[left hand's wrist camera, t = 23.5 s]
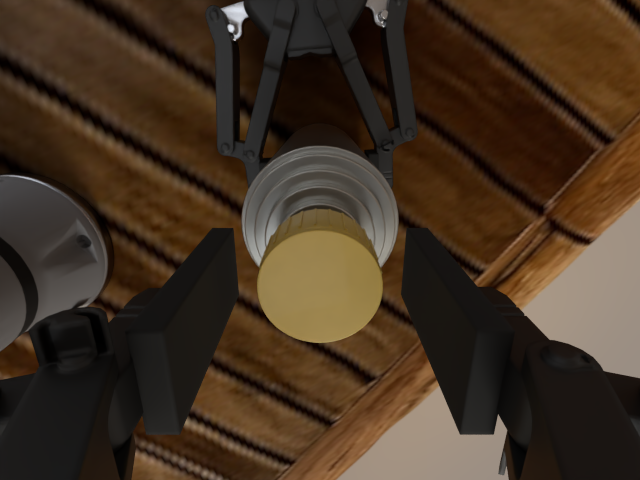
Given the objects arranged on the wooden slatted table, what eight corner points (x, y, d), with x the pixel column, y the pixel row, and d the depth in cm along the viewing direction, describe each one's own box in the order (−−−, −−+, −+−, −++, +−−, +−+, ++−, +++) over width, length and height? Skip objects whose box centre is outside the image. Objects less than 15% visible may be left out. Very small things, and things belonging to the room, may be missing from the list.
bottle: (302, 215, 38) (273, 398, 14) (266, 145, 35) (161, 229, 12) (372, 183, 36) (463, 325, 13) (339, 108, 34) (381, 122, 11)
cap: (259, 299, 15) (248, 335, 13) (272, 198, 13) (263, 218, 11) (362, 315, 15) (369, 352, 13) (385, 216, 14) (398, 239, 11)
